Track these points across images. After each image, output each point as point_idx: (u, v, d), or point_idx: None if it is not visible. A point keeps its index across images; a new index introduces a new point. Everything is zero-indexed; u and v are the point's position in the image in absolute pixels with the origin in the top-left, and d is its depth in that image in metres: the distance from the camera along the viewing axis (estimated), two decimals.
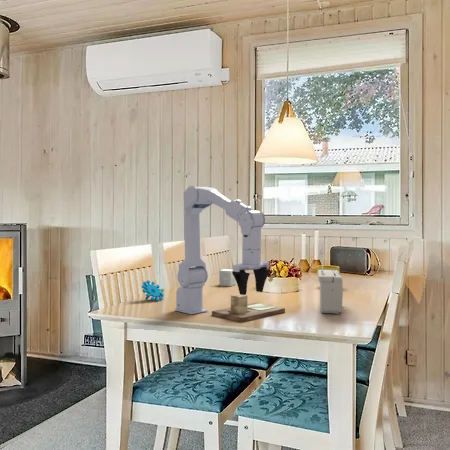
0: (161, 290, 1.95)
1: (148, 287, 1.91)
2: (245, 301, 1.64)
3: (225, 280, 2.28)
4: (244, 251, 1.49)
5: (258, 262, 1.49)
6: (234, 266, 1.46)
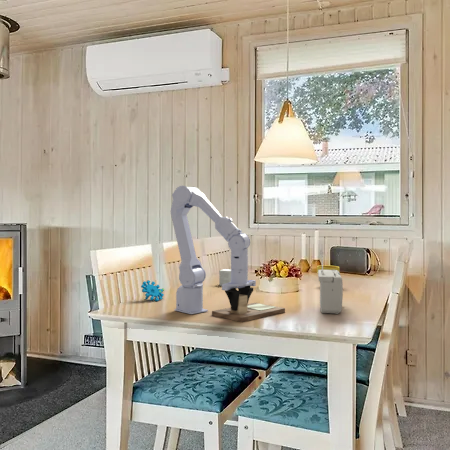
0: (161, 290, 1.95)
1: (148, 287, 1.92)
2: (245, 301, 1.64)
3: (225, 280, 2.28)
4: (232, 271, 1.63)
5: (245, 281, 1.63)
6: (223, 285, 1.60)
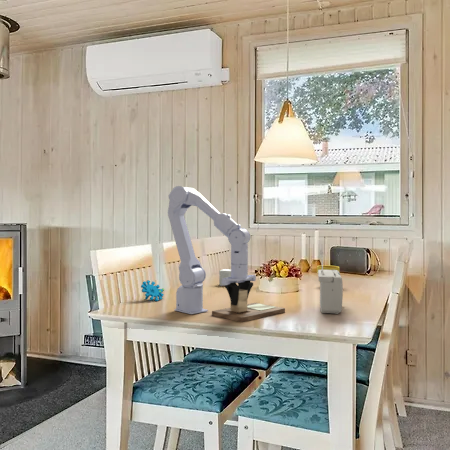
0: (161, 290, 1.95)
1: (147, 287, 1.92)
2: (245, 296, 1.64)
3: None
4: (232, 266, 1.63)
5: (245, 276, 1.62)
6: (223, 280, 1.60)
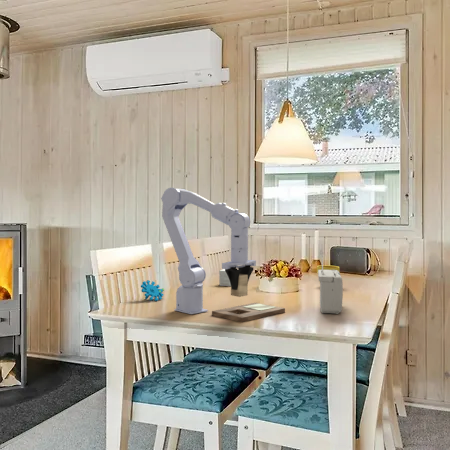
0: (161, 290, 1.95)
1: (147, 287, 1.92)
2: (245, 280, 1.64)
3: (225, 280, 2.28)
4: (232, 250, 1.62)
5: (245, 260, 1.62)
6: (223, 264, 1.59)
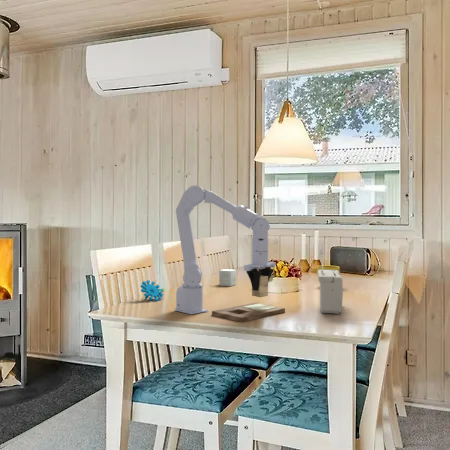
0: (161, 290, 1.95)
1: (147, 287, 1.92)
2: (266, 281, 1.71)
3: (225, 280, 2.28)
4: (253, 253, 1.70)
5: (266, 262, 1.70)
6: (245, 266, 1.67)
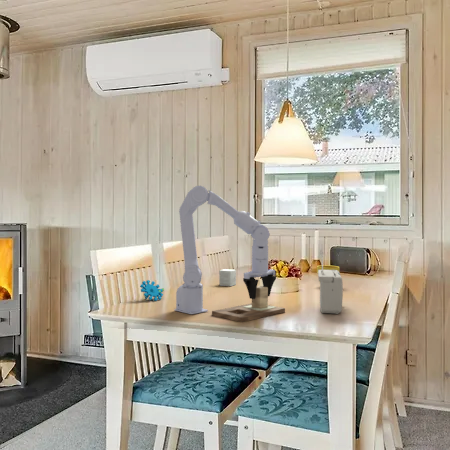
0: (160, 290, 1.96)
1: (147, 287, 1.92)
2: (266, 292, 1.71)
3: (225, 280, 2.28)
4: (253, 260, 1.70)
5: (266, 270, 1.70)
6: (245, 274, 1.67)
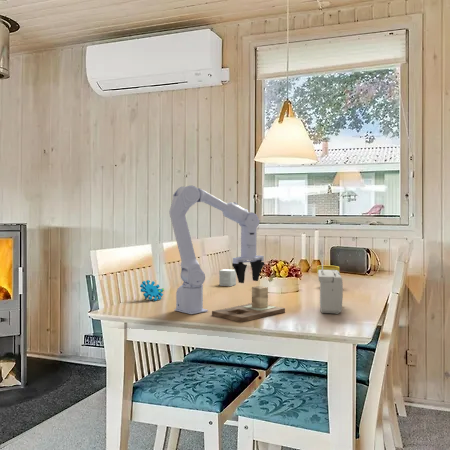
0: (160, 290, 1.96)
1: (147, 287, 1.92)
2: (266, 292, 1.71)
3: (225, 280, 2.28)
4: (242, 246, 1.77)
5: (254, 255, 1.77)
6: (234, 259, 1.74)
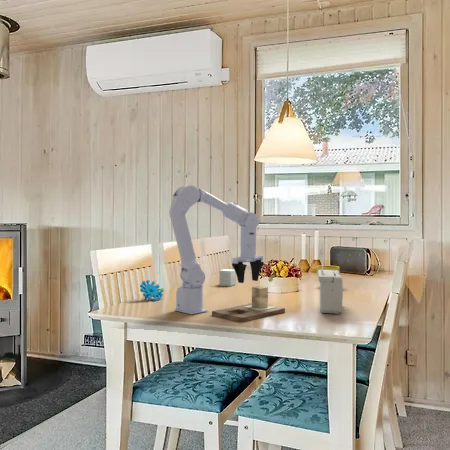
0: (160, 290, 1.96)
1: (146, 286, 1.93)
2: (266, 292, 1.71)
3: (225, 280, 2.28)
4: (242, 246, 1.77)
5: (254, 255, 1.77)
6: (233, 259, 1.74)
